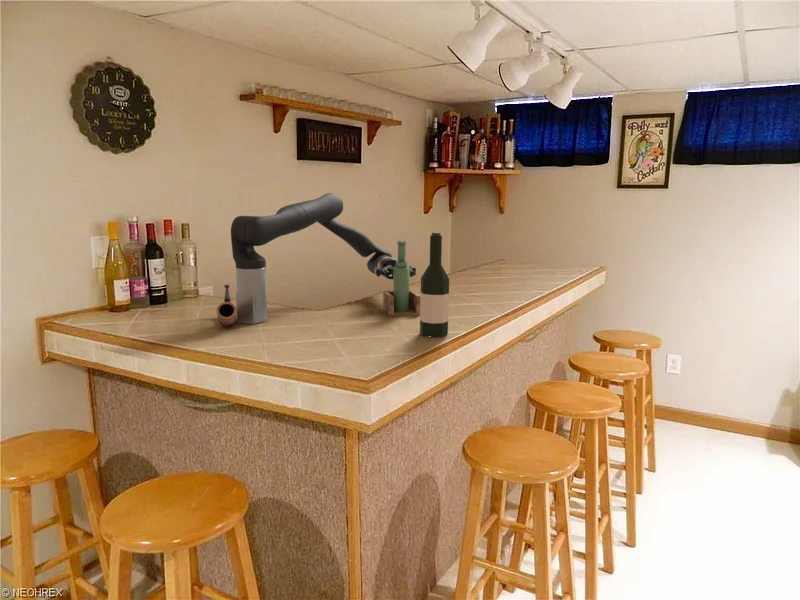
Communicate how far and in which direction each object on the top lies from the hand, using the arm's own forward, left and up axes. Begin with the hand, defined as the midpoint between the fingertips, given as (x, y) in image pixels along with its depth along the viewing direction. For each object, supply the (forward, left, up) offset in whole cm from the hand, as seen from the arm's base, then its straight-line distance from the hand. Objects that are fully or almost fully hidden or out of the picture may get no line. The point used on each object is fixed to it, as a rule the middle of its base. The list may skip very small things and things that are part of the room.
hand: (400, 274), depth 205 cm
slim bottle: (-3, -1, -12) cm, 13 cm away
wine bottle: (-29, -18, -13) cm, 36 cm away
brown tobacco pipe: (-35, +47, -13) cm, 60 cm away
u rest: (-3, -1, -13) cm, 13 cm away
